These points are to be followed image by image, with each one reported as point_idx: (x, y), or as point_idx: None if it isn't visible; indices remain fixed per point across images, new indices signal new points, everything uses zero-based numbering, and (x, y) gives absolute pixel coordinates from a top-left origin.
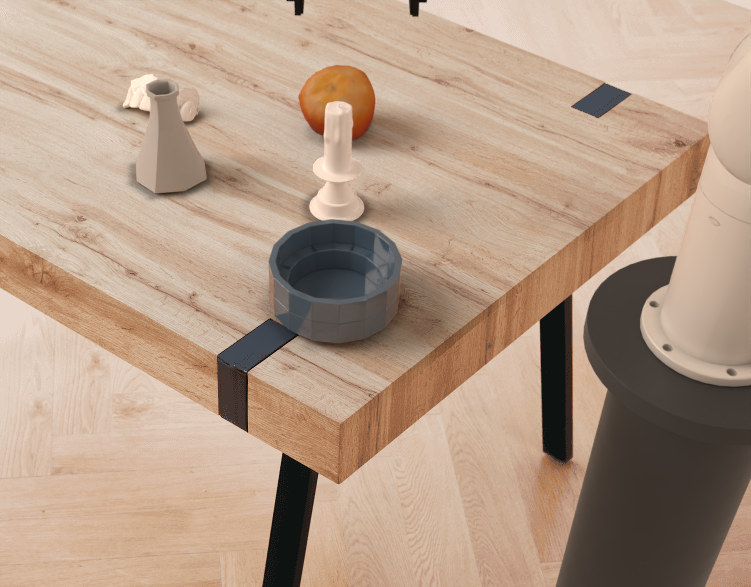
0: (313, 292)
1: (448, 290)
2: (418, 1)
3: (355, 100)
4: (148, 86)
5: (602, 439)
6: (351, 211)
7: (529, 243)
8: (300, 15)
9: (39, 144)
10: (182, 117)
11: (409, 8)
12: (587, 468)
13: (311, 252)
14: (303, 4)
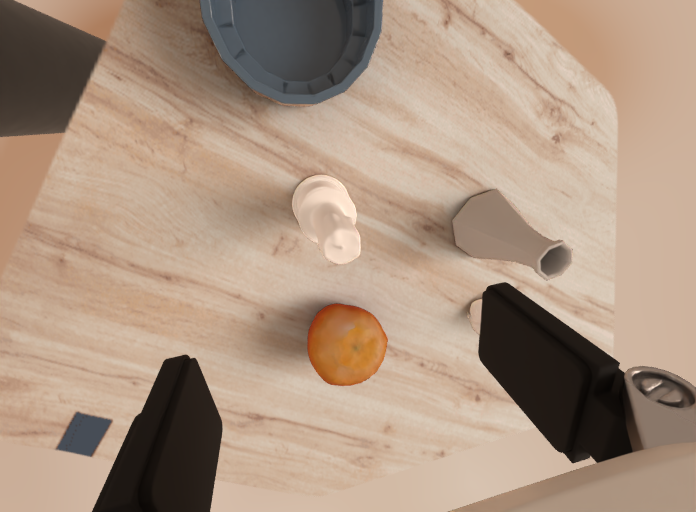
0: (320, 32)
1: (161, 71)
2: (152, 394)
3: (328, 338)
4: (569, 260)
5: (22, 40)
6: (303, 191)
7: (86, 182)
8: (488, 286)
9: (590, 241)
10: (481, 301)
11: (208, 389)
12: (73, 75)
13: (332, 71)
14: (491, 319)
